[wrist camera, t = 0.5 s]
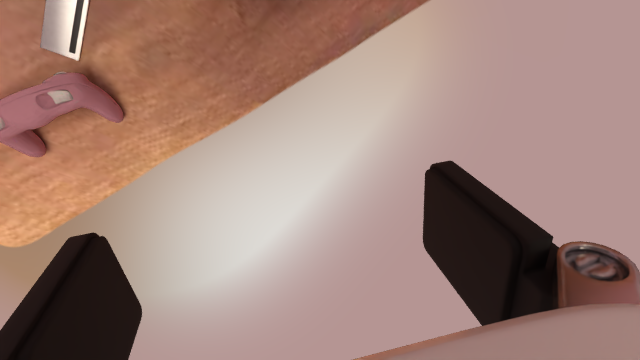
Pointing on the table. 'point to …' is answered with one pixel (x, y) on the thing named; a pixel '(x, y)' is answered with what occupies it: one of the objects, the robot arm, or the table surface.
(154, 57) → the table surface
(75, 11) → the ruler
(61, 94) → the video game controller
